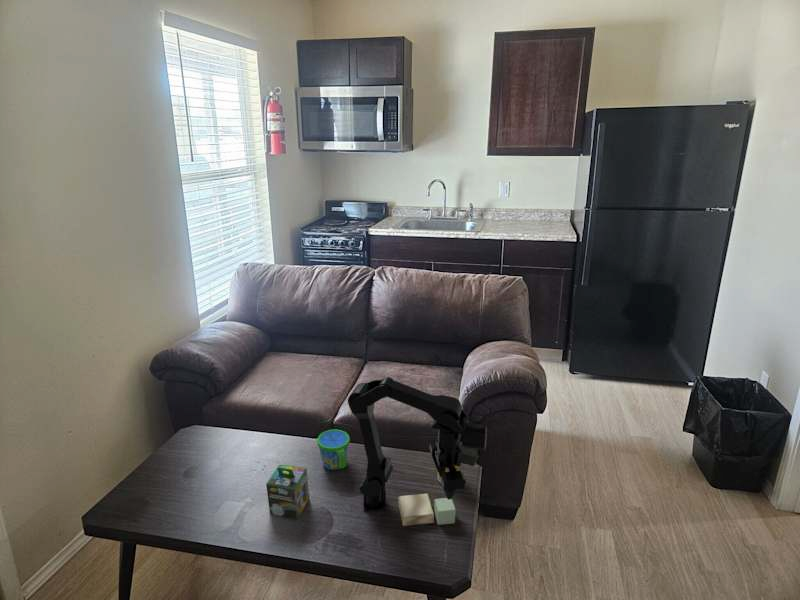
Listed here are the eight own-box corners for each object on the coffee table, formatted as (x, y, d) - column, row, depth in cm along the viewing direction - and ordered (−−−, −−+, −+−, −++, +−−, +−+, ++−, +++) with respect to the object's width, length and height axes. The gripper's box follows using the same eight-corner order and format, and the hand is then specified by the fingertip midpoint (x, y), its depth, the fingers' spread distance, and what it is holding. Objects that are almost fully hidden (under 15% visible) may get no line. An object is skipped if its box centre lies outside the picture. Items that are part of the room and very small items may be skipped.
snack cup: (356, 474, 168) (355, 448, 165) (325, 482, 164) (323, 456, 161) (342, 447, 182) (342, 422, 178) (313, 453, 178) (312, 428, 174)
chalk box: (310, 498, 158) (307, 458, 152) (297, 520, 149) (294, 479, 144) (282, 493, 160) (278, 453, 154) (268, 514, 151) (264, 473, 146)
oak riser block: (403, 525, 148) (403, 517, 147) (398, 503, 156) (398, 495, 155) (433, 522, 149) (434, 514, 148) (427, 500, 157) (427, 492, 156)
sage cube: (437, 525, 148) (438, 511, 147) (434, 512, 153) (434, 499, 151) (454, 523, 149) (455, 509, 147) (450, 510, 154) (451, 497, 152)
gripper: (486, 460, 134) (482, 508, 140) (467, 420, 152) (464, 464, 157) (445, 464, 133) (442, 512, 138) (430, 423, 150) (428, 467, 155)
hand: (445, 487), depth 147 cm, fingers open, 9 cm apart
